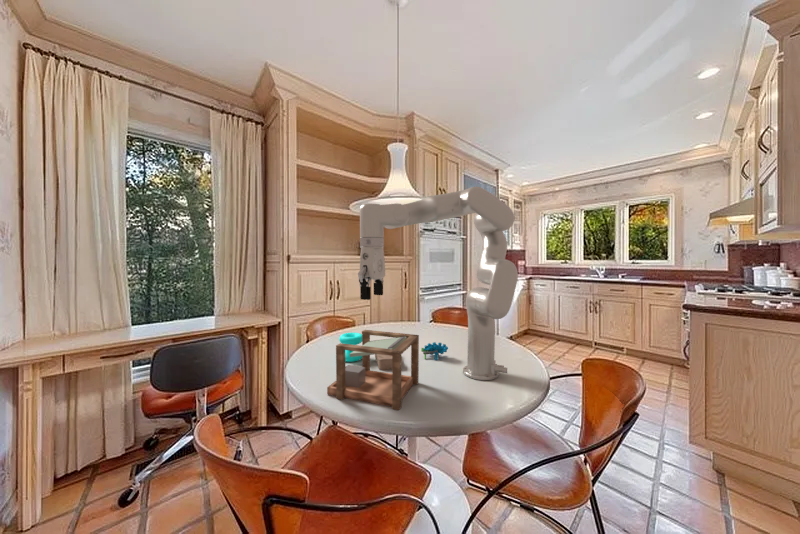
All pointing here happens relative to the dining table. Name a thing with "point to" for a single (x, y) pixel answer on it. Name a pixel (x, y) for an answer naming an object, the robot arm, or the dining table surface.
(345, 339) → the donuts
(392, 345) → the trapdoor
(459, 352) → the dining table surface
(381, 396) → the frame
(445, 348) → the gear
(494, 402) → the dining table surface
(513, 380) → the dining table surface
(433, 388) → the dining table surface
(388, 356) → the brick
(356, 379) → the grey squarish block
